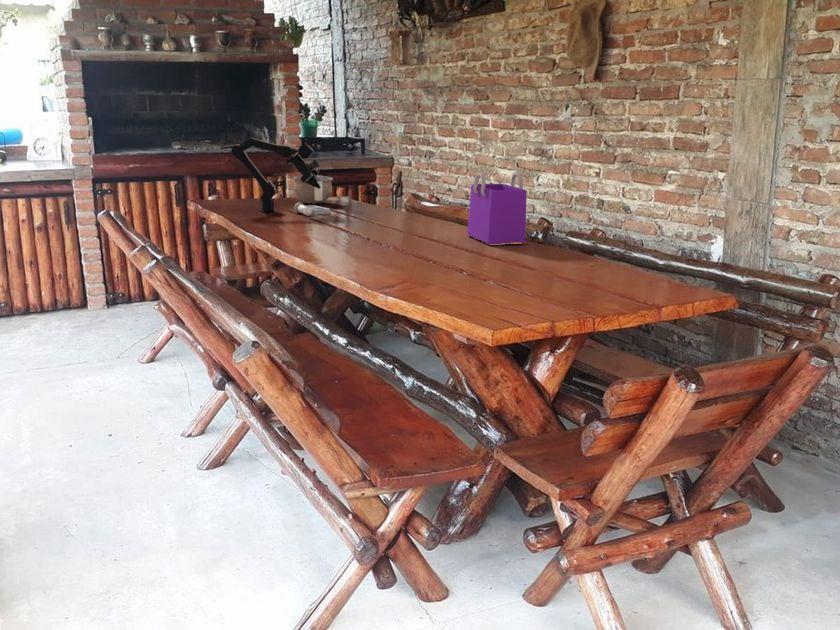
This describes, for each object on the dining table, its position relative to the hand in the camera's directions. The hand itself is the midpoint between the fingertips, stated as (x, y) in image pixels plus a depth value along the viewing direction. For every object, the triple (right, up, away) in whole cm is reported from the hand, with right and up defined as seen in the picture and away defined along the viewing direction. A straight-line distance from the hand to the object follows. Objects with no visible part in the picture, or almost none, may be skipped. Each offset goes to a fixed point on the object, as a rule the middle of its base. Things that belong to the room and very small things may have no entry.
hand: (321, 187), depth 430 cm
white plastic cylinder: (-11, -13, -4) cm, 17 cm away
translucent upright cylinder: (-2, -6, +2) cm, 7 cm away
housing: (-4, -12, +7) cm, 14 cm away
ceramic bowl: (-9, -3, +40) cm, 41 cm away
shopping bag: (+85, -34, -64) cm, 112 cm away
